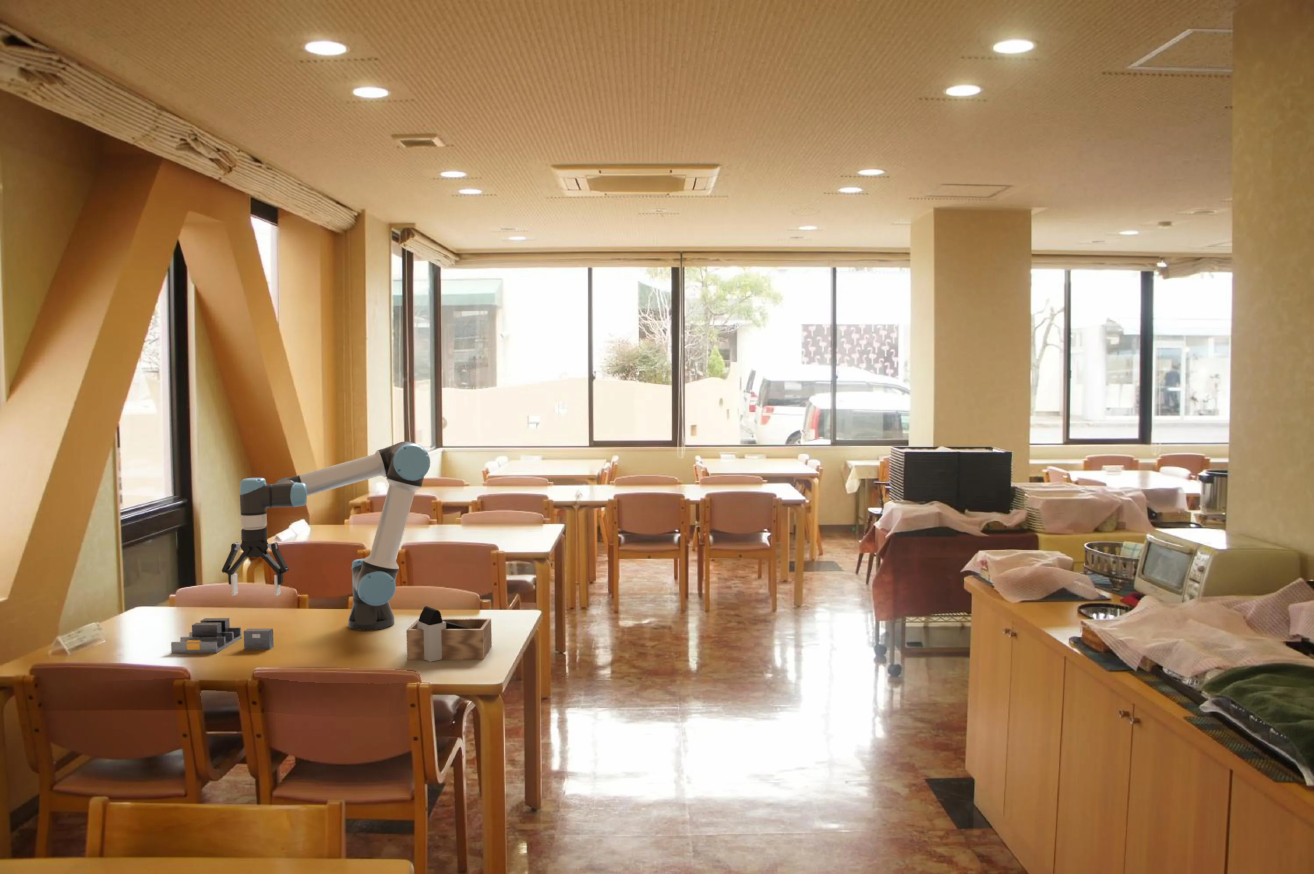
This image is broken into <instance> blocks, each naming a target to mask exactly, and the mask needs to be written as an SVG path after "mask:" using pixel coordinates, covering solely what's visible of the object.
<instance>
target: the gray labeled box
mask: <svg viewBox="0 0 1314 874" xmlns="http://www.w3.org/2000/svg"><path fill="white" fill-rule="evenodd" d="M274 645H275V644H274V628H247V629H245V630H243V648H244V650H245V651H247V650H248V651H250V650H251V651H252V650H253V651H256V650H257V651H262V650H263V651H265V650H266V651H267V650H268V651H269V650H271V649H273V648H274Z"/></svg>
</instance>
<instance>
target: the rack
mask: <svg viewBox="0 0 1314 874" xmlns="http://www.w3.org/2000/svg"><path fill="white" fill-rule="evenodd" d="M199 621H200V622H195V623H193V624H191V631H190V632H189V633H188V636H180V639H179V640H180V641H170V646H171V647H170V649H171V651H170V653H171V654H175V655H177V654H193V655H194V654H218V653H220V652H221V651H223V650H224V649H226V648H228V647H229V646H231V645H232V644H234V643H235V642H237V641H239V640H240V639H242V627H241V626H240V627H239V626H237V627H236V626H233V627H232V626H231V627H230V625H231V624H230V622H231V621H230V618H229V617H212V618H210V617H208V618H207V617H206V618H205V617H204V618H203V619H200V620H199Z"/></svg>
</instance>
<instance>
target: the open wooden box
mask: <svg viewBox="0 0 1314 874" xmlns="http://www.w3.org/2000/svg"><path fill="white" fill-rule="evenodd" d="M417 621H419V618H417V619H416V620H415V621H414V622H413V623H412V624H411V625H410V626H409V627H408V628H407V629H406V631H405V632H406V659H407V660H410V661H411V660H416V661H417V660H418V661H419V660H425V659H424V630H422V629H417ZM442 621H446V622H450V623H454V624H458V625H462V626H465V627H469V628H472V629H444V630H441V643H442V659H441V660H484V659H485V658H486V656H487V655H488V654H489V652H490V650H491V649H492V647H493V646H492V644H493V639H492V634H493V633H492V618H442ZM425 661H426V660H425Z"/></svg>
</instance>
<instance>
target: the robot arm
mask: <svg viewBox="0 0 1314 874" xmlns="http://www.w3.org/2000/svg"><path fill="white" fill-rule="evenodd" d="M430 467H431V458H430V455H429V452H428V450H426V449H425V447H423V446H422V445H420V444H418V443H415V442H411V441H408V440H407V441H406V440H405V441H401V442H400V441H399V442H397V443H395V444H391V445H390V446H386V447H385V448H381V449H377V450H376V451H375V453H374V454H370V455H367V456H366V455H365V456H363V457H359V458H355V459H352V460H348V461H345V462H342V463H341V462H340V463H337V464H334V465H330V466H327V467H323V468H319V469H317V470H316V469H315V470H313V471H308V472H305V473H301V474H298V475H295V476H291V477H283V478H280V479H279V480H277V481H276V482H275V483H272V484H271V483H267V481H266V478H264V477H249V478H248V477H247V478H243V479H242V480H241V481H240V482H239V507H240V527H241V528H242V529H241V530H240V536H241V537H240V539H241V543H239V542H237V541H236V542H233V543H231V545H230V552H229V554H228V556H227V558H226V560H225V562H224V565H223V567H222V569H221V573H225V574H227V578H228V579H227V581H228V584H229V585H230V587H231V589H230V592H231V596H232V597H233V596H234V597H235V596H236V595H238V594H239V584H238V582H239V580H238V573H236V572H237V570H238V569H239V568H240V566H241V565H242V564H243V563H244V562H245V560H246V559H247V558H249V559H251V558H261V559H262V560H264V561H265V562H266V563H267V565H268V566H269V567H270V569H272V571H274V572H275V574H274V575H273V576H274V577H273V578H274V579H273V581H274V583H273V584H274V587H273V588H274V596H275V597H276V596H277V597H278V596H279V595H281V594H282V591H281V589H282V588H281V585H283V583H284V573H287V572H288V571H290V568H289V566H288V564H287V563H286V560H285V558H284V556H283V554H282V553H281V551H280V549H279V543H278V542H273V543H269V542H268V528H267V526H268V520H267V515H268V513H267V509H271V508H272V509H273V508H293V507H294V508H297V507H303V506H306V505H307V503H308V497H309V496H313V495H316V494H319V493H320V494H321V493H324V492H327V491H330V490H334V489H337V488H341V487H345V486H348V485H349V486H350V485H351V484H356V483H360V482H362V481H367V480H370V479H374V478H377V477H380V476H382V477H383V478H385V479H386V481H387V483H388V484H389V485H388V489H387V492H386V494H385V495H386V496H385V500H384V503H383V507H382V510H381V514H380V517H379V520H378V524H377V528H376V531H375V534H374V539H373V542H372V546H371V550H370V552H369V555H368V556H366V557H364V558H359V559H354V560H353V561H352V562H351V576H352V580H351V581H352V607H351V610H350V614H349V617H348V619H347V620H348V621H347V622H348V623H347V624H348V628H349V629H351V630H355V631H375V630H381V629H386V628H389V627H392V626H393V625H395V615H394V612H393V610H392V607H391V604H390V601H391V600H392V598H394V596H395V593H396V589H397V588H396V587H397V585H396V580H397V576H398V572H399V569H400V567H399V564H398V563H397V558H398V554H399V551H400V548H401V544H402V540H403V536H404V534H405V529H406V525H407V523H408V520H409V515H410V511H411V508H412V505H413V501H414V497H415V494H416V491H417V490H419V489H421V488H422V486H423V482H424V479H425V476H426V475H427V474H428V472H429V470H430ZM240 549H241V550H242V551H243V552H242V553H241V554H240V556H239V557H238V559H237V560H236V561H235V562H234V560H235V559H236V557H237V553H238V552H239V550H240ZM268 549H269V550H270V551H271V553H272V554H273V557H274V558H275V559H274V558H273V557H272V556H271V554H270V553H269V551H268ZM233 562H234V563H233Z"/></svg>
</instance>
